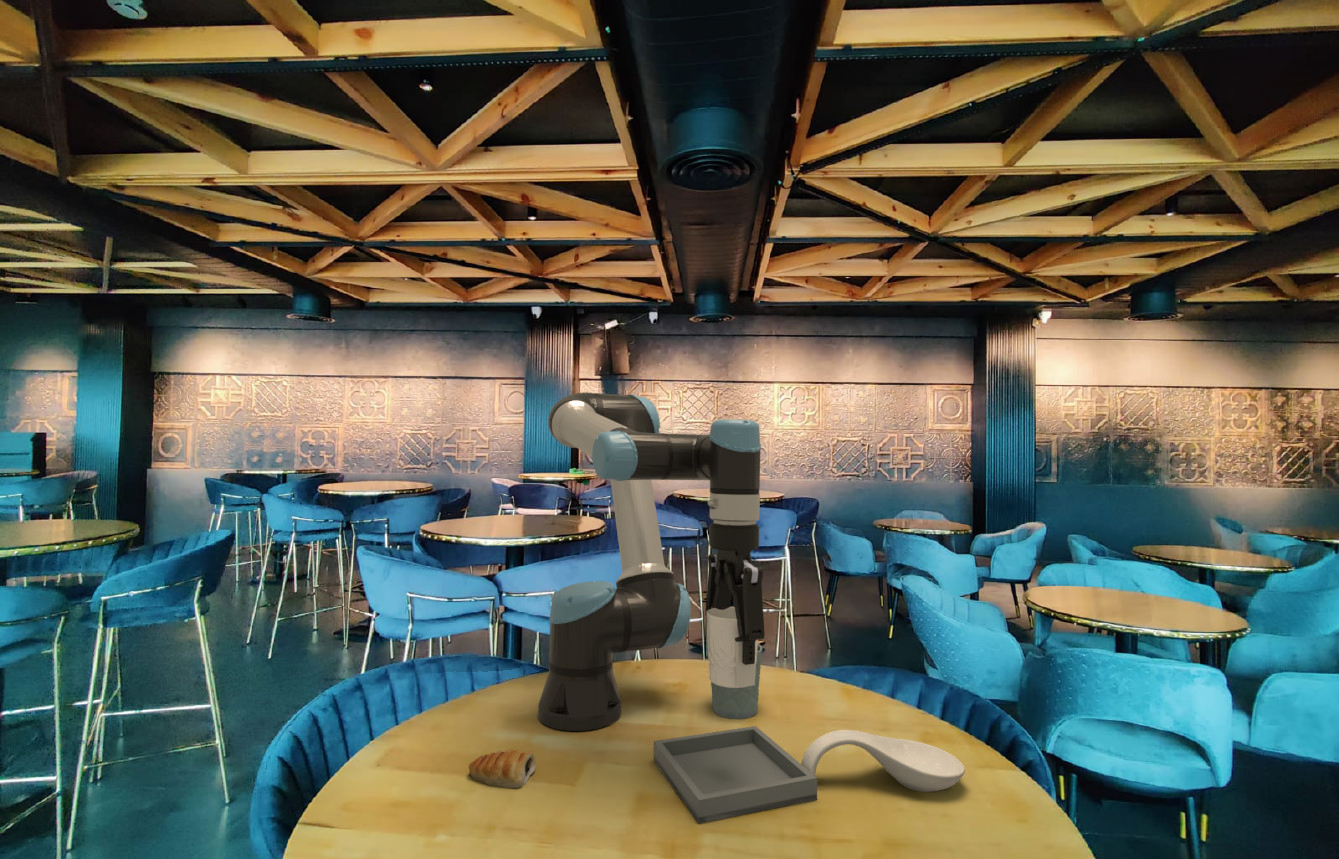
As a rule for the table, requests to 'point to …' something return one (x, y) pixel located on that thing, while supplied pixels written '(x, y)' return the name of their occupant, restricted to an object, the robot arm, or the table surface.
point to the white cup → (723, 646)
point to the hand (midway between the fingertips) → (732, 675)
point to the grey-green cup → (738, 697)
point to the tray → (732, 773)
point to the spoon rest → (895, 759)
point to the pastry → (504, 768)
